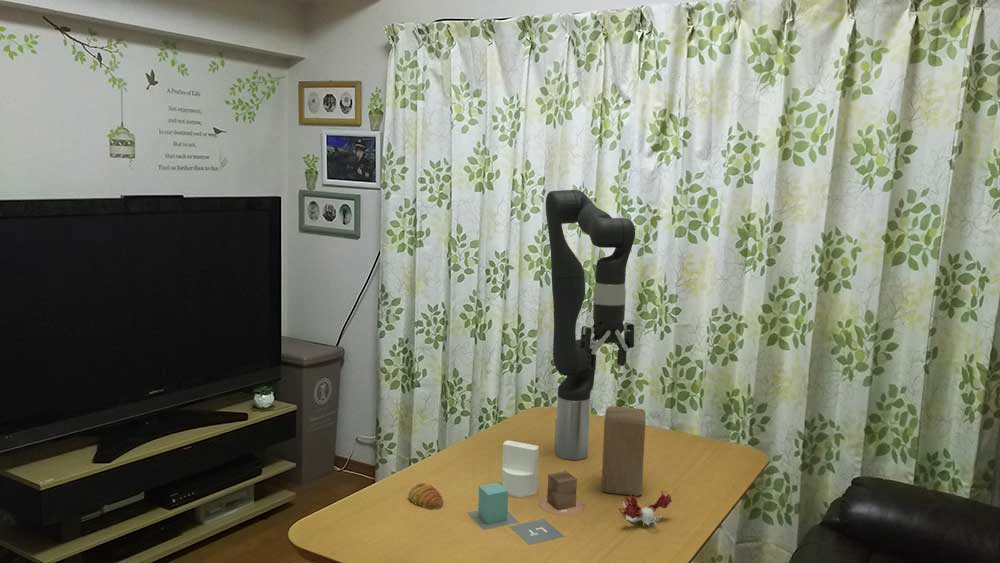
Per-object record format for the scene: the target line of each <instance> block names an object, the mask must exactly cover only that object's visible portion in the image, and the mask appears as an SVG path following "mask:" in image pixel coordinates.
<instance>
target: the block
mask: <svg viewBox="0 0 1000 563" xmlns="http://www.w3.org/2000/svg"><path fill="white" fill-rule="evenodd" d="M603 423H604V425H603V426H604V427H603V442H602V443H603V445H602V446H603V447H602V465H601V467H602V468H601V469H602V470H601V485H600V486H601V490H602V492H604V493H609V494H619V495H625V496H626V495H628V496H630V495H632V496H634V494H635V493H636V497H638V496H641V494H642V491H643V478H644V477H643V476H644V475H643V472H644V460H645V459H644V456H645V438H646V437H645V436H646V410H645V409H642V408H635V407H623V406H611V405H610V406H607V407H606V410H605V415H604V422H603Z"/></svg>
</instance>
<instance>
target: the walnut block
mask: <svg viewBox="0 0 1000 563" xmlns="http://www.w3.org/2000/svg"><path fill="white" fill-rule="evenodd" d="M577 488H578V478H576V477H575V476H573V475H572V474H571V473H569V472H568V471H566V470H563V471H558V472H553V473H549V474H548V475H547V494H546V496H547V502H548V503H549V504H550V505H552V506H553V507H554V508H555V509H557V510H563V509H567V508H572V507H576V498H577Z"/></svg>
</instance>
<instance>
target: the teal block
mask: <svg viewBox="0 0 1000 563" xmlns="http://www.w3.org/2000/svg"><path fill="white" fill-rule="evenodd" d="M508 502H509V495H508V490H506V489H505V488H504V487H503V486H502V483H499V482H494V483H489V484H483V485H479V486H478V510H477V511H478V515H479V516H480V517H481V518H482V519H483V520H484V521H485V522H486V523H487V524H491V523H495V522H500V521H504V520H507V513H508V512H509V511H508V508H509V507H508V506H509V504H508Z"/></svg>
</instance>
